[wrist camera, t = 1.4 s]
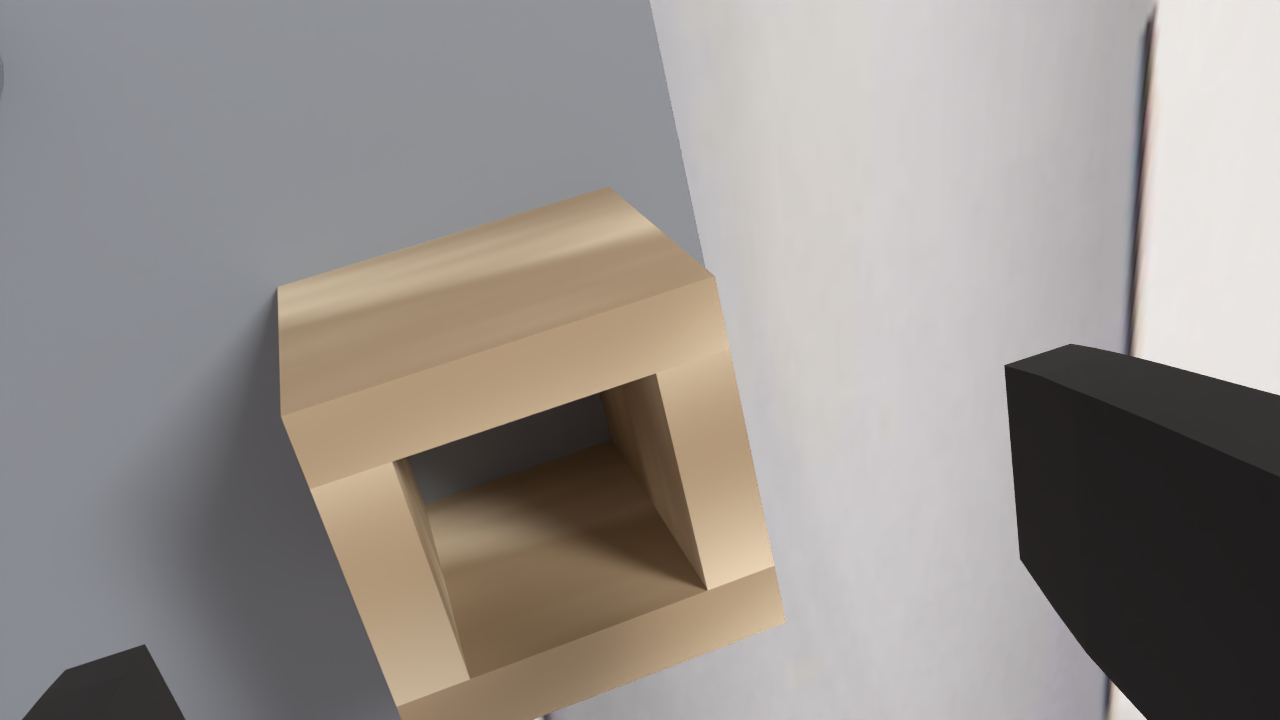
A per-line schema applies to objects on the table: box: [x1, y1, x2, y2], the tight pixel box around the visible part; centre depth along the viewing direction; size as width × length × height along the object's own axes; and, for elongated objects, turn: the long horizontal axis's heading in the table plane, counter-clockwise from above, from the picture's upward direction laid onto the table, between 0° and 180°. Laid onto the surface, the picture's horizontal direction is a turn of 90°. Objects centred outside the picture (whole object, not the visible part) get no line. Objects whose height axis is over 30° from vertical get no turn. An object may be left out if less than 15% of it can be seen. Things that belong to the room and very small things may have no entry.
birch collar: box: [277, 187, 786, 720], centre depth 17 cm, size 5×5×5 cm
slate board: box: [0, 0, 705, 720], centre depth 18 cm, size 20×14×1 cm
